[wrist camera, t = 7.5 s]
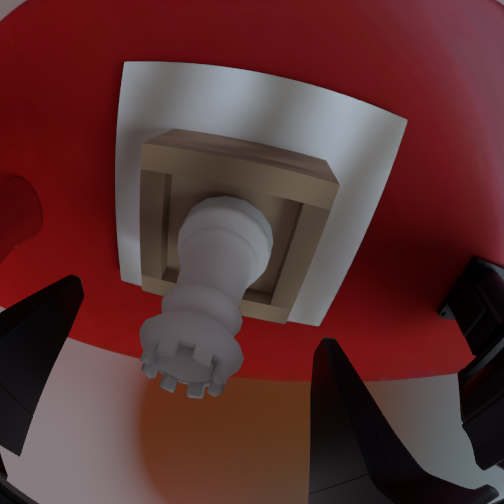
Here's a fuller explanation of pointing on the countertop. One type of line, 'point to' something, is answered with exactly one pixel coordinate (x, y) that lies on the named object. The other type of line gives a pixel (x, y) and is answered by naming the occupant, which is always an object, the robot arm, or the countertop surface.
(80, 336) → the countertop surface
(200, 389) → the rook chess piece
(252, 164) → the board
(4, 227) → the beer glass
